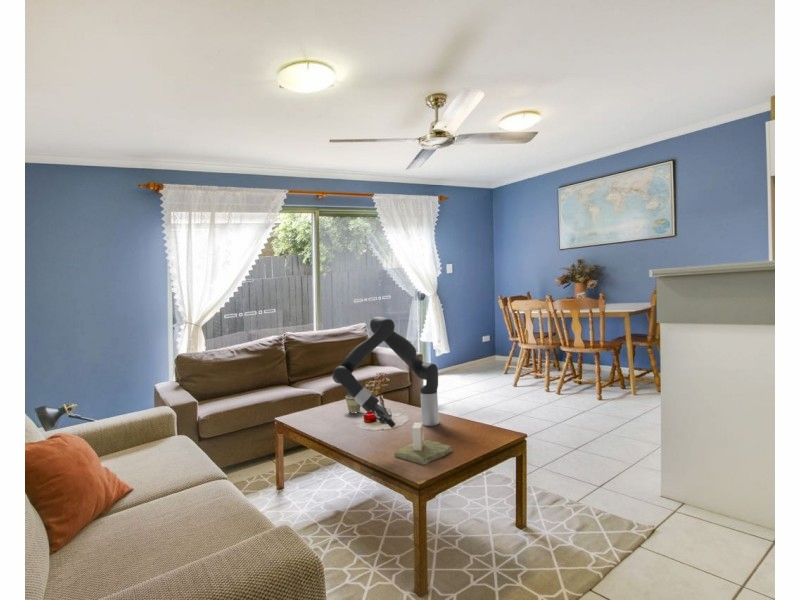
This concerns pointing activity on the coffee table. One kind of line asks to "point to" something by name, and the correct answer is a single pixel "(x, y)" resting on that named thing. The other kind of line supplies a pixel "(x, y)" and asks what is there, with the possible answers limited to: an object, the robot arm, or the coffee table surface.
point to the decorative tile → (423, 452)
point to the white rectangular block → (418, 436)
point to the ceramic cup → (352, 404)
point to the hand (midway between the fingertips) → (393, 425)
